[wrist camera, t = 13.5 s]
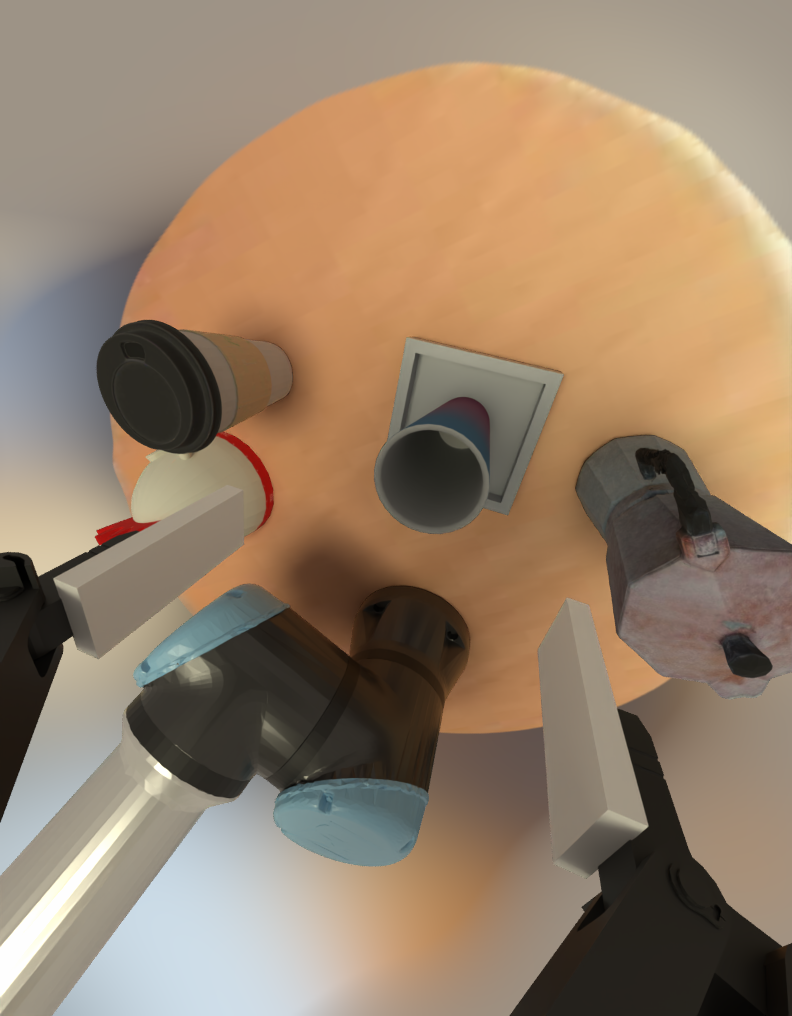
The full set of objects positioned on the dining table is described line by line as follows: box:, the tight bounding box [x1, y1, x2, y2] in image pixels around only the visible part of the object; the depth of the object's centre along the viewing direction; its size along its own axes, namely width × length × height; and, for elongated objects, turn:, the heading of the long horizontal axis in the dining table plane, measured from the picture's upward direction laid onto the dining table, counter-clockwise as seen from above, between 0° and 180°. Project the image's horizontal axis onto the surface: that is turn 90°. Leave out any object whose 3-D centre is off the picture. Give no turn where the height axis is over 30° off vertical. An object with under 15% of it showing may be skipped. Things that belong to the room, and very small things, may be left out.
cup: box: [374, 397, 490, 534], centre depth 28 cm, size 7×7×15 cm
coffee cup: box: [97, 320, 293, 454], centre depth 32 cm, size 9×9×15 cm
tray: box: [387, 337, 564, 515], centre depth 34 cm, size 13×13×2 cm
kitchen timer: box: [95, 432, 274, 545], centre depth 40 cm, size 14×14×15 cm
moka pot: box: [575, 435, 792, 699], centre depth 24 cm, size 10×15×20 cm, turn 32°
